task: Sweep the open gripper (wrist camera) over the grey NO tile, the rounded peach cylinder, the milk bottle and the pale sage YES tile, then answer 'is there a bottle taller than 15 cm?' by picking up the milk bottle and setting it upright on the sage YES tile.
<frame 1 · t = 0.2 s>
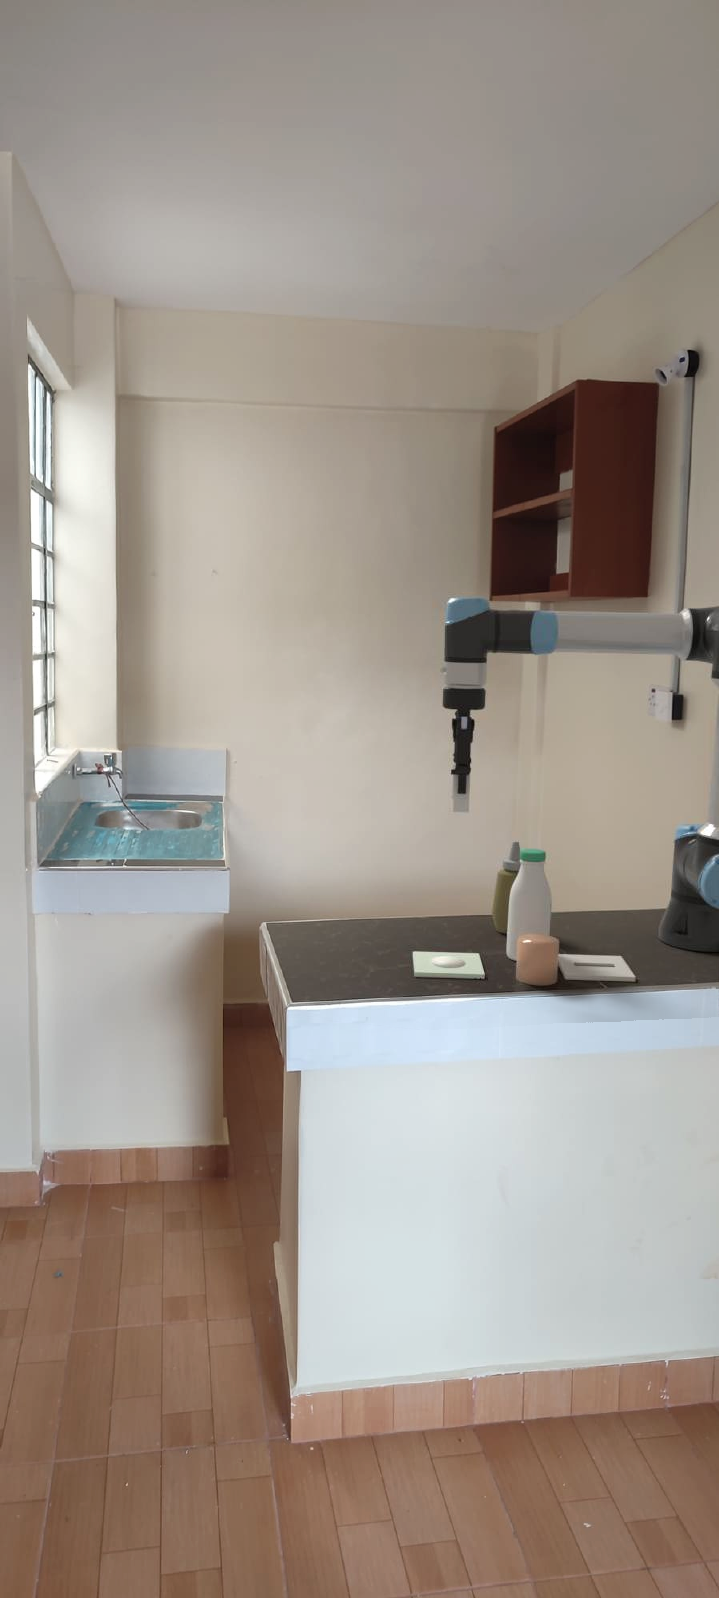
hand: (460, 805, 203), 28 cm above the table, fingers open, 13 cm apart
rounded peach cylinder: (536, 978, 195), on the table
no tile: (593, 969, 201), on the table
milk bottle: (527, 958, 207), on the table
squeeze bottle: (511, 932, 224), on the table
yes tile: (447, 966, 201), on the table
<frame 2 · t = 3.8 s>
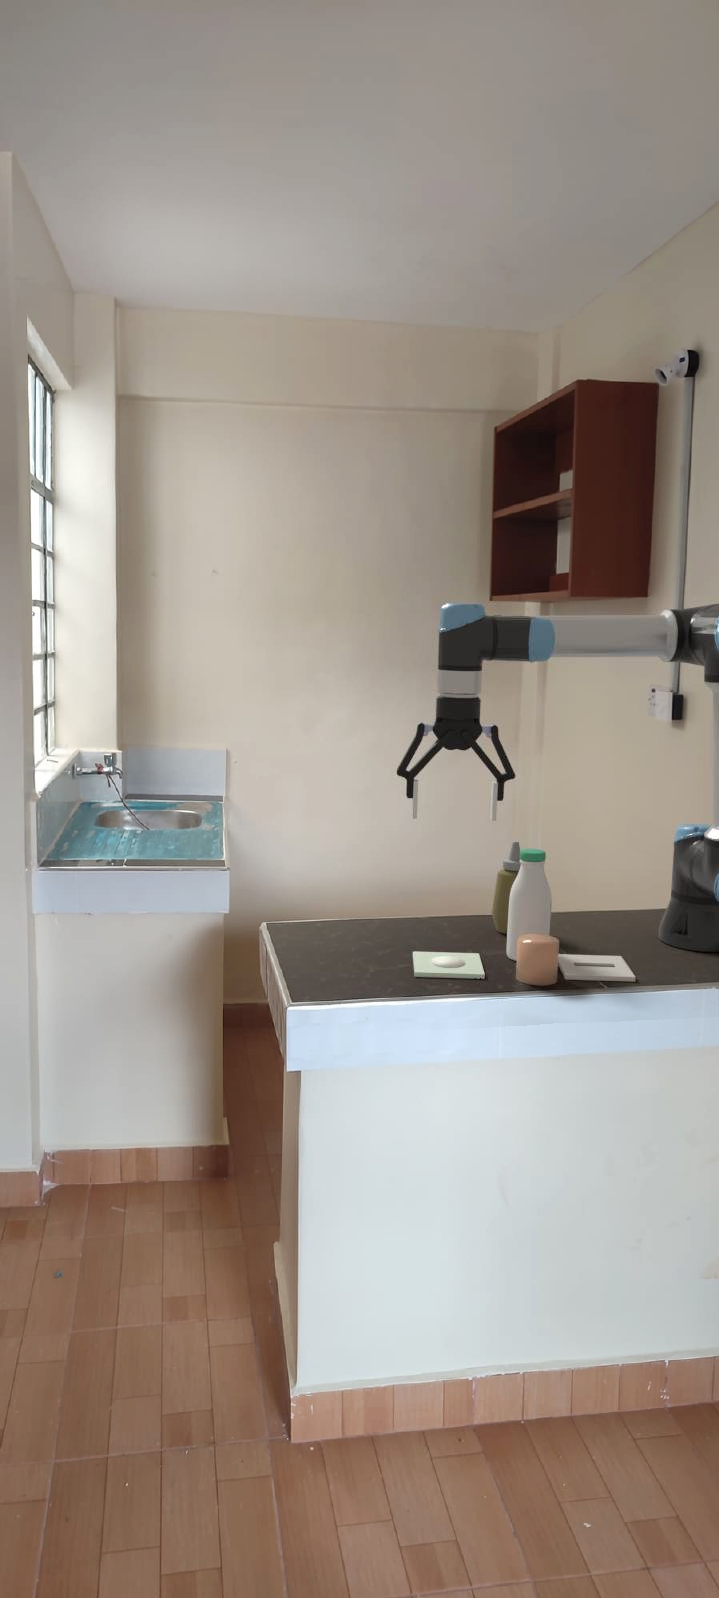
hand: (453, 818, 196), 27 cm above the table, fingers open, 13 cm apart
nothing on the table moved.
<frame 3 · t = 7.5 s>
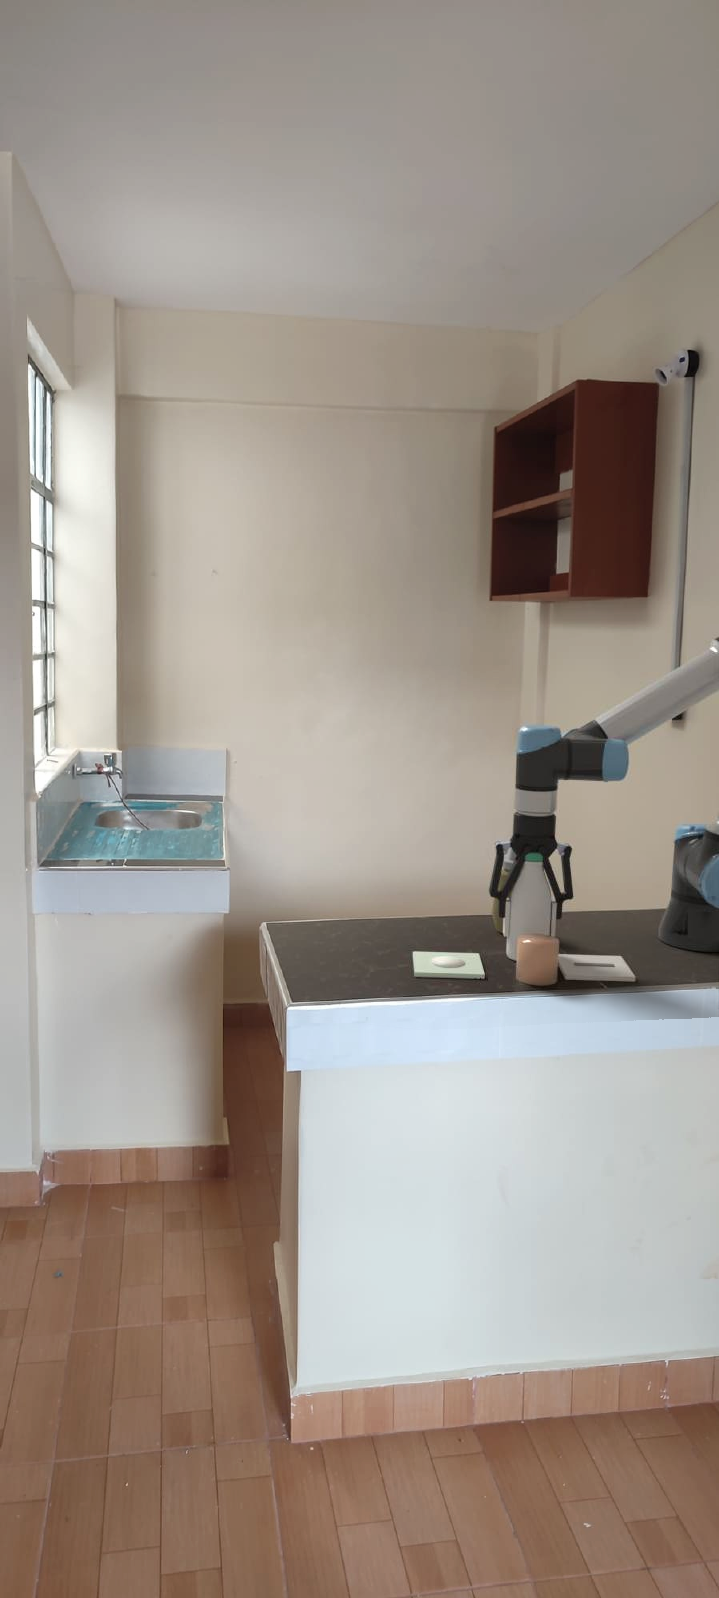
hand: (528, 935, 207), 4 cm above the table, fingers closed on milk bottle, 8 cm apart
milk bottle: (527, 958, 207), on the table, touching gripper
everything else where it was.
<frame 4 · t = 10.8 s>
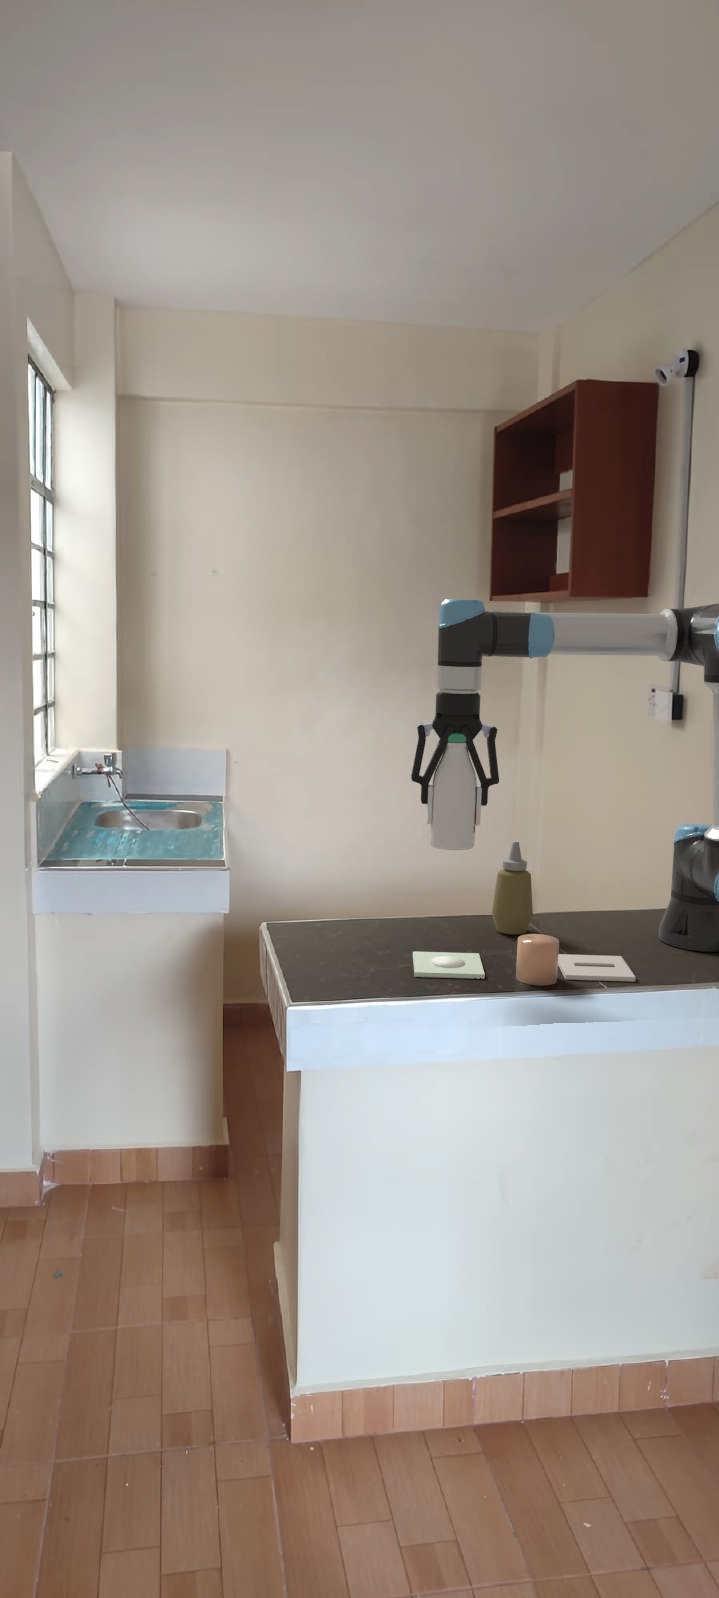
hand: (453, 823, 196), 26 cm above the table, fingers closed on milk bottle, 8 cm apart
milk bottle: (451, 847, 197), point 21 cm above the table, touching gripper
everything else where it was.
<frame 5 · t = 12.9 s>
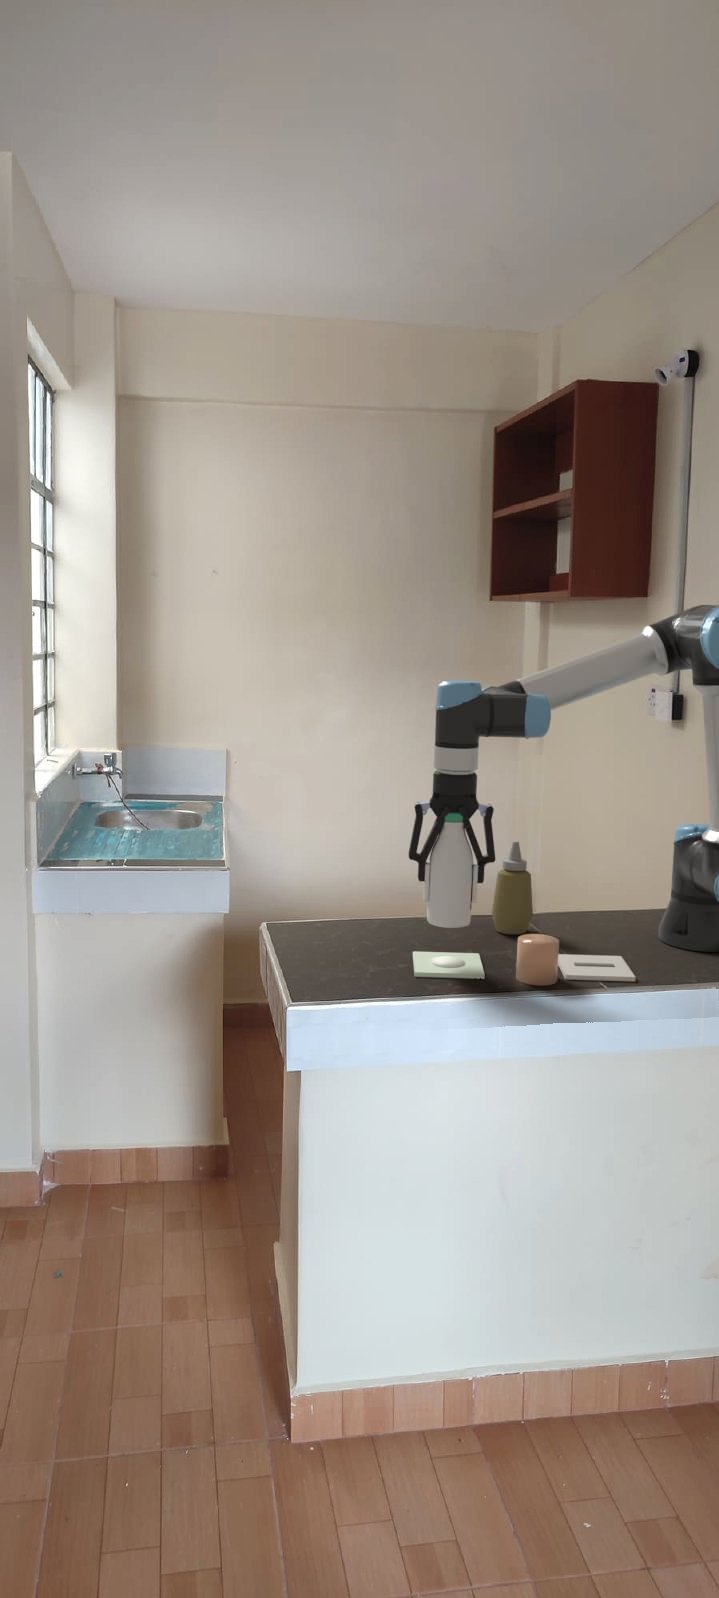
hand: (449, 899, 199), 12 cm above the table, fingers closed on milk bottle, 8 cm apart
milk bottle: (448, 924, 199), point 8 cm above the table, touching gripper
everything else where it was.
when the fingers open (7 cm above the table, at t = 14.6 s): milk bottle drops 1 cm, resting on yes tile.
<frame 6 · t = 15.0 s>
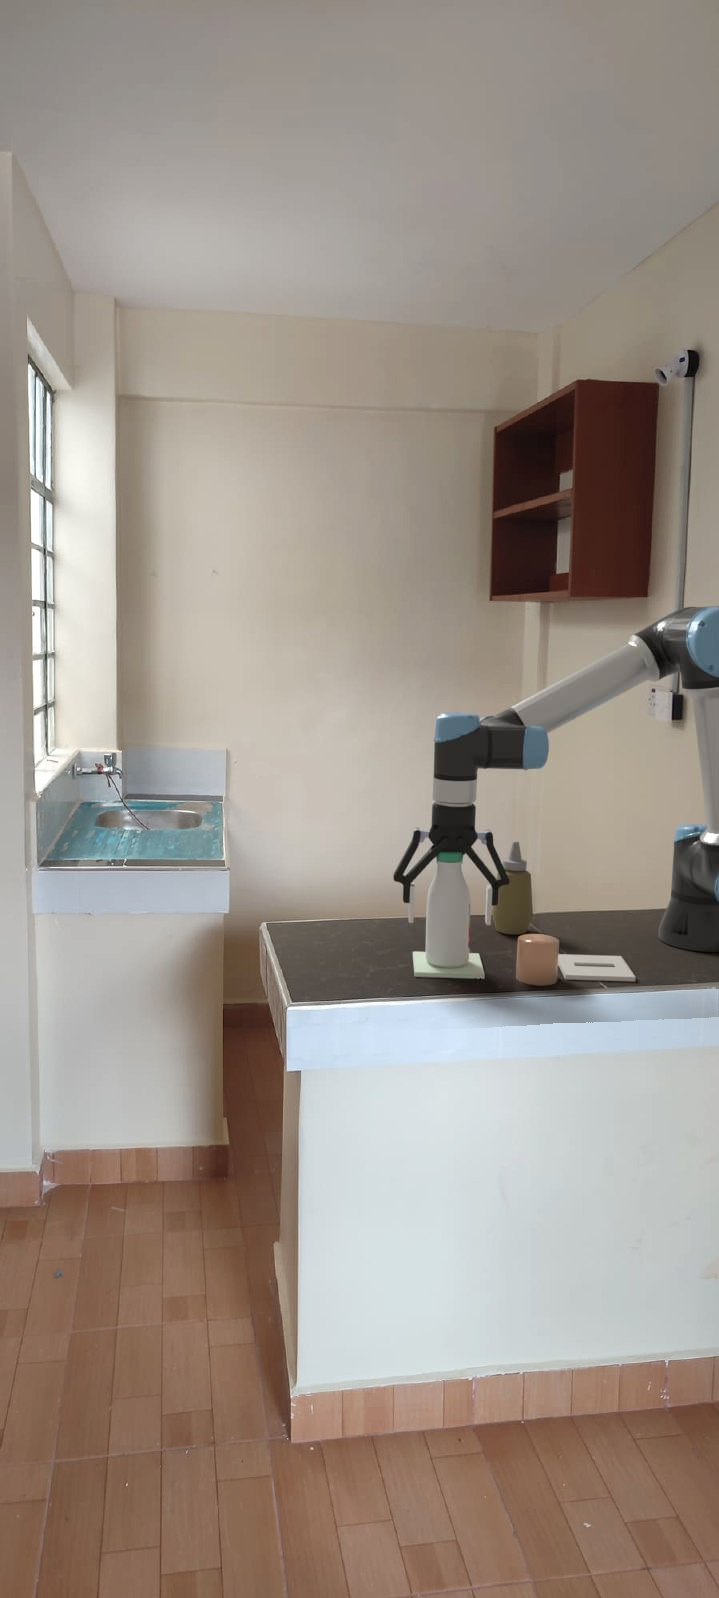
hand: (449, 922, 199), 8 cm above the table, fingers open, 13 cm apart
milk bottle: (447, 962, 200), point 1 cm above the table, touching yes tile
everything else where it was.
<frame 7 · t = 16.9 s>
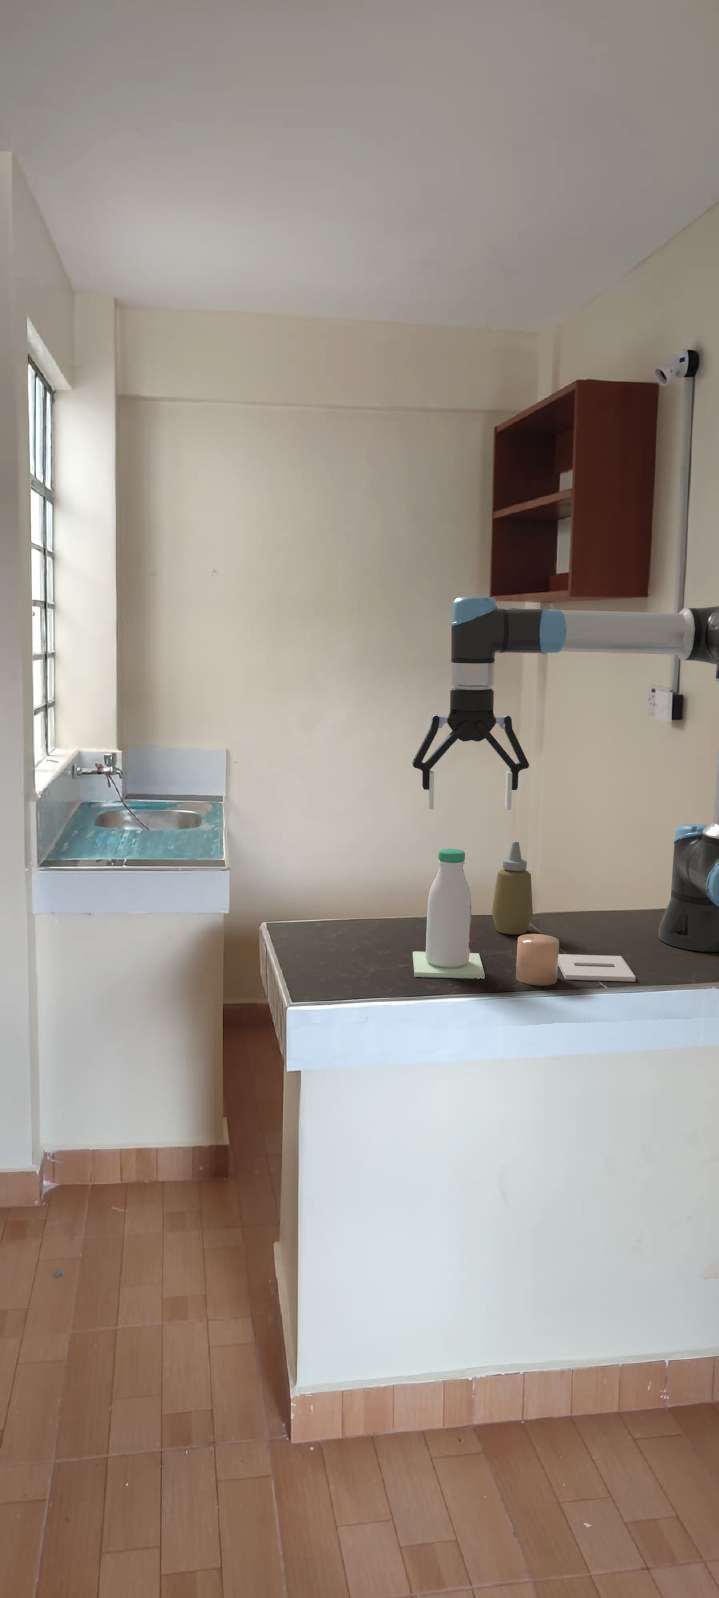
hand: (469, 808, 200), 28 cm above the table, fingers open, 13 cm apart
nothing on the table moved.
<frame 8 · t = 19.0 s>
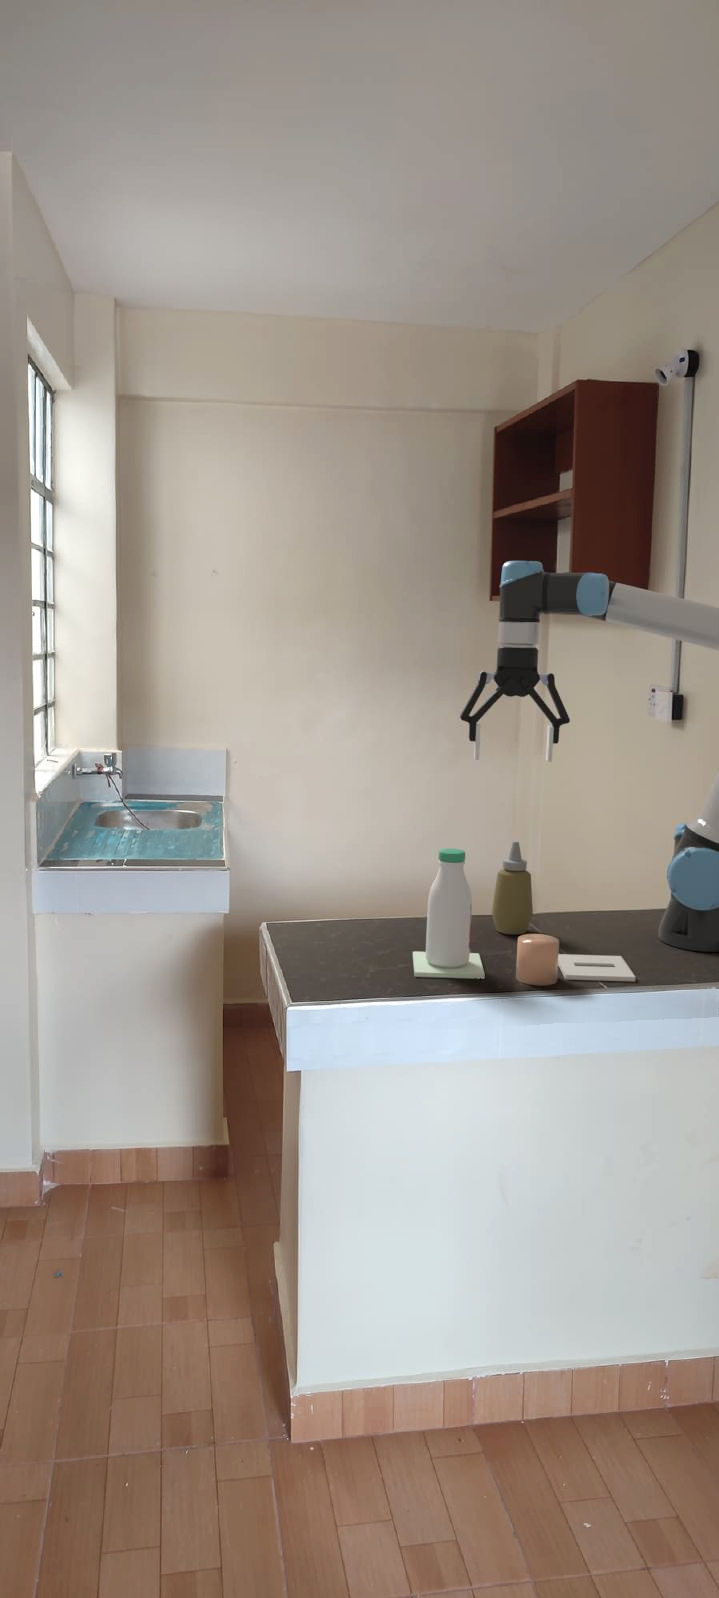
hand: (512, 760, 213), 35 cm above the table, fingers open, 13 cm apart
nothing on the table moved.
at the end: milk bottle inside the target area on the yes tile (0.1 cm from its centre), point 0.8 cm above the yes tile's base; milk bottle tilted 1°; the gripper is holding nothing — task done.
